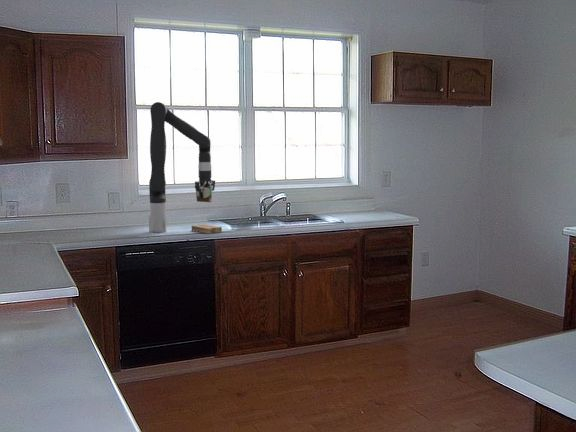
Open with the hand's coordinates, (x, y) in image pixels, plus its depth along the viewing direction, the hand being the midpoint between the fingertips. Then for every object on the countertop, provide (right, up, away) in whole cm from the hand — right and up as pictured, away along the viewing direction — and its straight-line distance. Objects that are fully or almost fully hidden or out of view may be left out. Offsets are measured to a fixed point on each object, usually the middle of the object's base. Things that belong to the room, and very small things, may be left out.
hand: (205, 198), depth 373 cm
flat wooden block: (+1, -20, +1) cm, 20 cm away
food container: (0, -2, +1) cm, 2 cm away
